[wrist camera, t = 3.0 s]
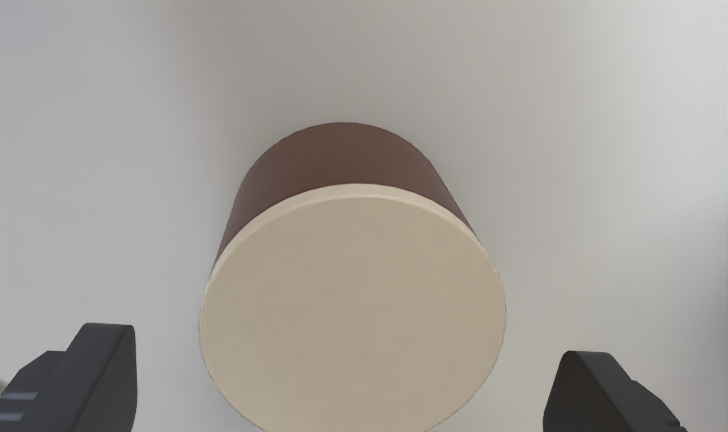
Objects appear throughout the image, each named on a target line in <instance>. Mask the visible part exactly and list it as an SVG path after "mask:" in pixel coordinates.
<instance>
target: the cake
mask: <svg viewBox="0 0 728 432" xmlns="http://www.w3.org/2000/svg"><path fill="white" fill-rule="evenodd" d="M505 327H506V304H505V295H504V291H503V287H502V284H501V280H500V277H499V275H498V273H497V270H496V268H495V266H494V264H493V262H492V260H491V259H490V257H489V255H488V254H487V252H486V250H485V249H484V247H483V246H482V244H481V242H480V241H479V239H478V238H477V236H476V234H475V233H474V231H473V230H472V228H471V226H470V225H469V223H468V221H467V220H466V218H465V217H464V215H463V213H462V212H461V210H460V209H459V207H458V205H457V204H456V202H455V201H454V199H453V197H452V196H451V194H450V192H449V191H448V189H447V188H446V186H445V184H444V183H443V181H442V180H441V178H440V176H439V175H438V173H437V172H436V170H435V169H434V167H433V166H432V164H431V163H430V162H429V161H428V159H427V158H426V157H425V156H424V155H423V154H422V153H421V152H420V151H419V150H418V149H417V148H415V147H414V146H413V145H412V144H411V143H409V142H407V141H406V140H404V139H403V138H401V137H399V136H398V135H395V134H393V133H391V132H389V131H387V130H384V129H381V128H378V127H374V126H371V125H365V124H359V123H343V122H339V123H328V124H322V125H317V126H313V127H309V128H306V129H304V130H301V131H298V132H295V133H293V134H292V135H290V136H288V137H286V138H284V139H282V140H281V141H279V142H278V143H276V144H275V145H273V146H272V147H271V148H269V149H268V150H267V151H266V152H265V153H264V154H263V155H262V156H261V157H260V158H259V159H258V160H257V161H256V162H255V164H254V165H253V166H252V167H251V169H250V170H249V171H248V173H247V175H246V176H245V178H244V180H243V181H242V184H241V186H240V189H239V191H238V193H237V196H236V199H235V202H234V205H233V208H232V211H231V214H230V217H229V220H228V223H227V226H226V229H225V232H224V235H223V238H222V241H221V245H220V248H219V251H218V254H217V257H216V260H215V263H214V266H213V269H212V272H211V275H210V278H209V281H208V284H207V287H206V290H205V293H204V297H203V301H202V305H201V309H200V318H199V339H200V347H201V351H202V355H203V359H204V363H205V365H206V367H207V370H208V372H209V375H210V377H211V379H212V381H213V382H214V384H215V386H216V387H217V389H218V390H219V392H220V393H221V395H222V396H223V397H224V398H225V399H226V401H227V402H228V403H229V404H230V405H231V406H232V407H233V408H234V409H235V410H236V411H237V412H238V413H239V414H240V415H241V416H243V417H244V418H245V419H247V420H248V421H250V422H251V423H252V424H254V425H255V426H257V427H259V428H260V429H262V430H264V431H266V432H425V431H427V430H429V429H431V428H433V427H434V426H436V425H438V424H440V423H441V422H443V421H444V420H446V419H447V418H448V417H450V416H451V415H453V414H454V413H455V412H457V411H458V410H459V409H460V408H461V407H462V406H463V405H464V404H466V403H467V402H468V401H469V400H470V399H471V397H472V396H473V395H474V394H475V393H476V392H477V391H478V390H479V388H480V387H481V386H482V384H483V383H484V381H485V380H486V378H487V377H488V375H489V374H490V372H491V370H492V368H493V366H494V364H495V362H496V360H497V358H498V355H499V352H500V349H501V346H502V343H503V338H504V332H505Z"/></svg>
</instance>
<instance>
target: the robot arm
mask: <svg viewBox="0 0 728 432" xmlns="http://www.w3.org/2000/svg"><path fill="white" fill-rule="evenodd" d="M136 408H137V369H136V342H135V331H134V327H133V326H132V325H121V324H103V323H85V324H84V325H83V326H82V328H81V329H80V330H79V332H78V333H77V335H76V336H75V338H74V339H73V341H72V342H71V344H70V345H69V347H68V348H67V350H66V351H47V352H45V353H44V354H42V355H41V356H39V357H38V358H36V359H35V360H33V361H32V362H30V363H29V364H28V365H26V366H25V367H23V368H22V369H20V370H19V371H18V373H17V374H16V375H15V377H14V378H13V379H12V381H11V382H10V383H9V385H8V386H7V387H6V388H5V390H4V391H3V392H2V394H1V398H0V432H131V430H132V427H133V423H134V419H135V414H136ZM543 432H688V431H687V430H686V429H685V428H684V427H681V426H680V422H679V420H678V419H677V418H676V417H675V416H674V414H673V413H672V412H671V411H670V410H669V408H668V407H667V406H666V405H665V404H664V402H663V401H662V400H661V399H659V398H658V397H657V396H655V395H654V394H653V393H652V392H650V391H649V390H648V389H646V388H645V387H644V386H642V385H641V384H640V383H638V382H637V381H634V380H631V378H630V377H629V376H628V375H627V373H626V372H625V371H624V370H623V368H622V367H621V366H620V365H619V363H618V362H617V361H616V360H615V358H614V357H613V356H612V355H610V354H609V353H605V352H587V351H567V352H566V353H565V354H564V355H563V356H562V358H561V361H560V364H559V367H558V370H557V373H556V377H555V380H554V383H553V386H552V389H551V392H550V395H549V398H548V401H547V405H546V408H545V411H544V416H543Z"/></svg>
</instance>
